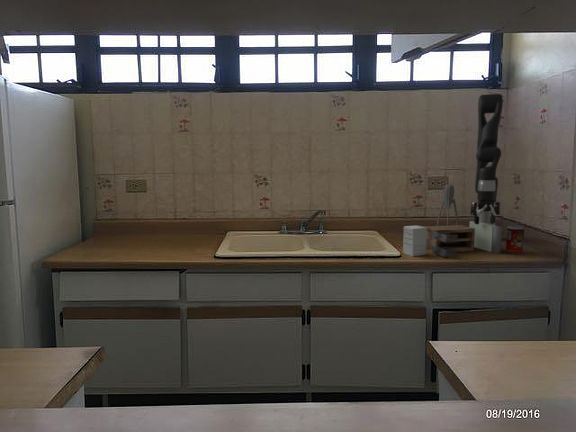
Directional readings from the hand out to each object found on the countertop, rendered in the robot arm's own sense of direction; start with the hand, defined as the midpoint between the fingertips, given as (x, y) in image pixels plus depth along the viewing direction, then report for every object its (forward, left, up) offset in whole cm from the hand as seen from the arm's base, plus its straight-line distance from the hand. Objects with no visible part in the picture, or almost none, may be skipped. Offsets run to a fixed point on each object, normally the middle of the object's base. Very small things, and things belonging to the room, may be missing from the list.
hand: (484, 223), depth 212 cm
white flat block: (+1, +1, -12) cm, 12 cm away
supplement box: (+2, -38, -12) cm, 40 cm away
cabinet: (+2, -18, -12) cm, 22 cm away
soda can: (+11, +8, -12) cm, 18 cm away
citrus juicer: (-17, -10, -12) cm, 23 cm away
